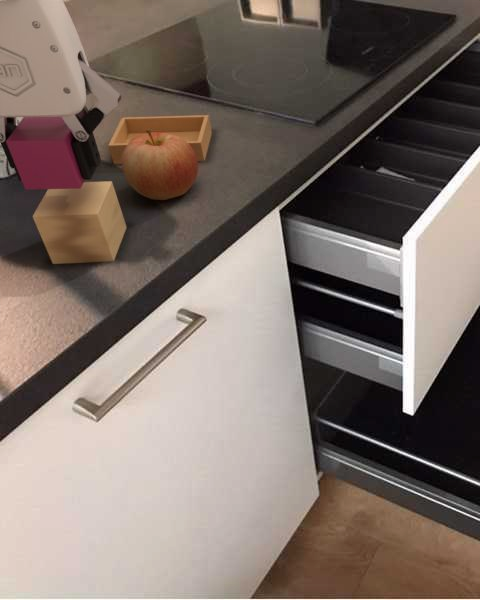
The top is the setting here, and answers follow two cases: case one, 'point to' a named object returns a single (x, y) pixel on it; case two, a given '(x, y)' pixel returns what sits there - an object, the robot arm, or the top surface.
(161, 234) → the top surface
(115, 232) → the birch block
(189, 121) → the tray
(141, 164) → the apple
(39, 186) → the pink block
